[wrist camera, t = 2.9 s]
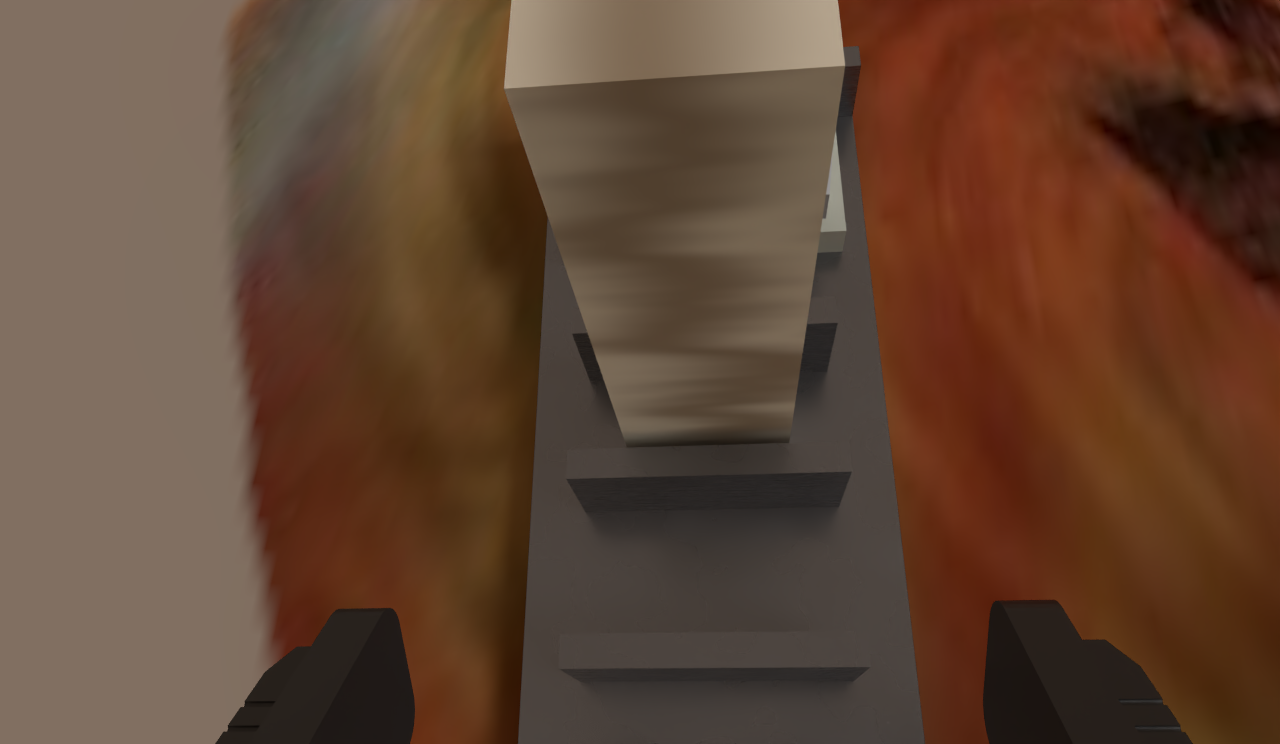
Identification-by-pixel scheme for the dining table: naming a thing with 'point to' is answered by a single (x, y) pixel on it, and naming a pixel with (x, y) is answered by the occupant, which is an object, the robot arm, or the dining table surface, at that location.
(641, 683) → the rack
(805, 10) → the beige tall block
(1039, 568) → the dining table surface
